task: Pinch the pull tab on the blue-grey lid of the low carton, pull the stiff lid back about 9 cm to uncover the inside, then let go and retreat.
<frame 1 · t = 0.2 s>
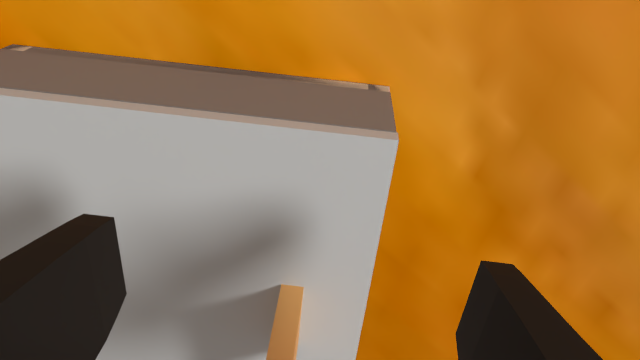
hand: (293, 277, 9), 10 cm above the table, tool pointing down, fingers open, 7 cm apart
carton: (206, 224, 21), on the table
carton lid: (152, 338, 16), point 7 cm above the table, slide at 0.0 cm
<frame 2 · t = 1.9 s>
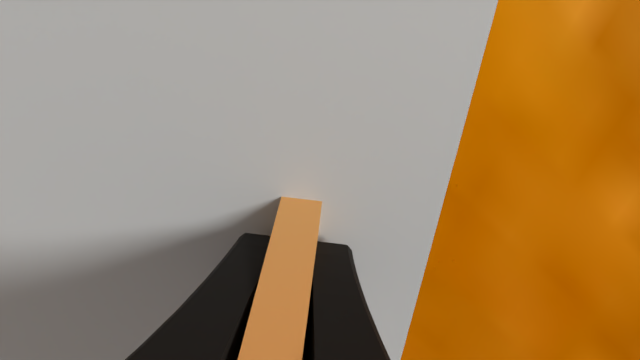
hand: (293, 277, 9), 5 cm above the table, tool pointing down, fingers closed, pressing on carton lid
carton lid: (38, 291, 8), point 7 cm above the table, slide at 0.0 cm, touching gripper
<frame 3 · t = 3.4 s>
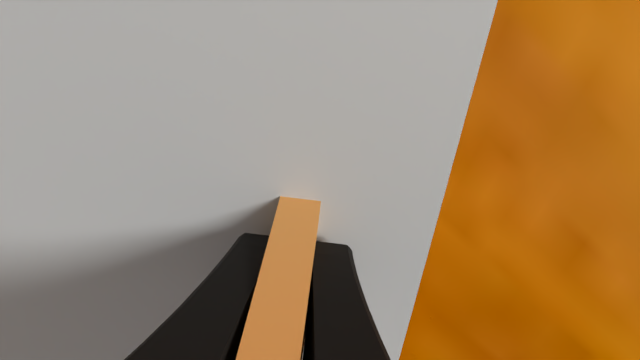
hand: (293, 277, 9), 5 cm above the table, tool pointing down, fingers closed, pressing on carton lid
carton lid: (36, 290, 8), point 7 cm above the table, slide at 6.0 cm, touching gripper
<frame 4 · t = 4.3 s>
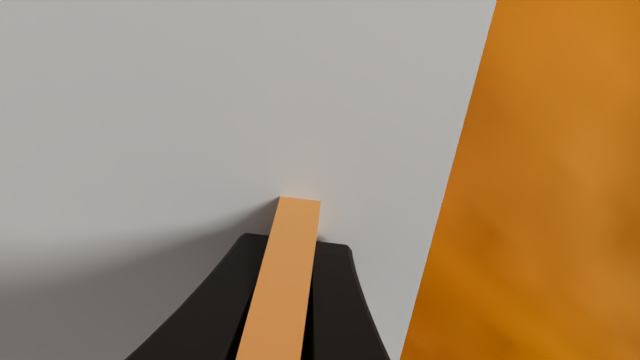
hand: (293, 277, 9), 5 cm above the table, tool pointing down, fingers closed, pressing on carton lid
carton lid: (37, 291, 8), point 7 cm above the table, slide at 9.0 cm, touching gripper
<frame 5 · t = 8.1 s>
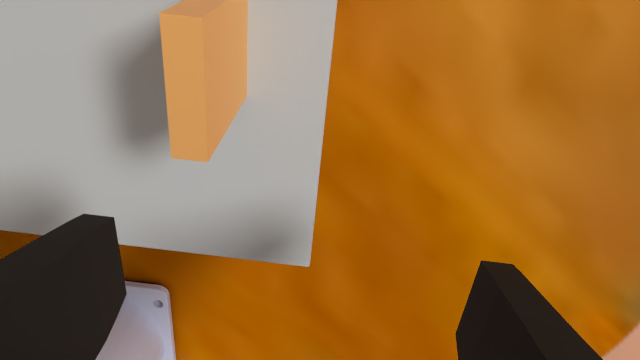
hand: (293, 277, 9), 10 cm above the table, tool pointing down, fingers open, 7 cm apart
carton lid: (31, 40, 11), point 7 cm above the table, slide at 9.0 cm
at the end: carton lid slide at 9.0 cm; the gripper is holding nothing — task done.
